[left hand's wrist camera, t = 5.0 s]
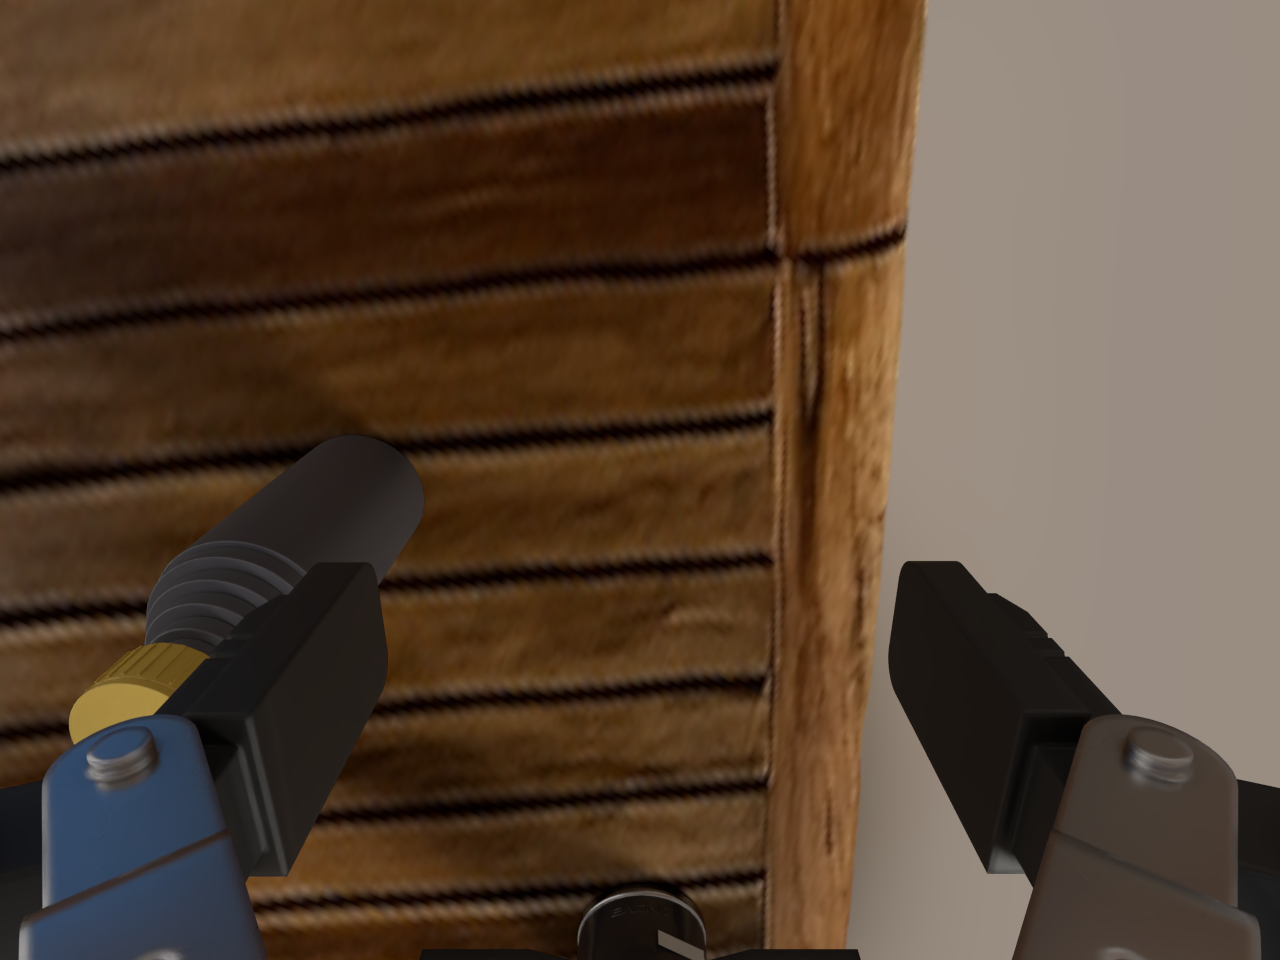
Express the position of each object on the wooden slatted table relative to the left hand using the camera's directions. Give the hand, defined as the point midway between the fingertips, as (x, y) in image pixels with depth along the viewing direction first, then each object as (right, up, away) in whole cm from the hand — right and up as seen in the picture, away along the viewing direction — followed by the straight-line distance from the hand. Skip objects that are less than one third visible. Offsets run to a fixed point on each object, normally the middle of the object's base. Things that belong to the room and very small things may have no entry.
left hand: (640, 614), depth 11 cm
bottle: (-16, +1, +31) cm, 35 cm away
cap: (-16, -6, +12) cm, 21 cm away
